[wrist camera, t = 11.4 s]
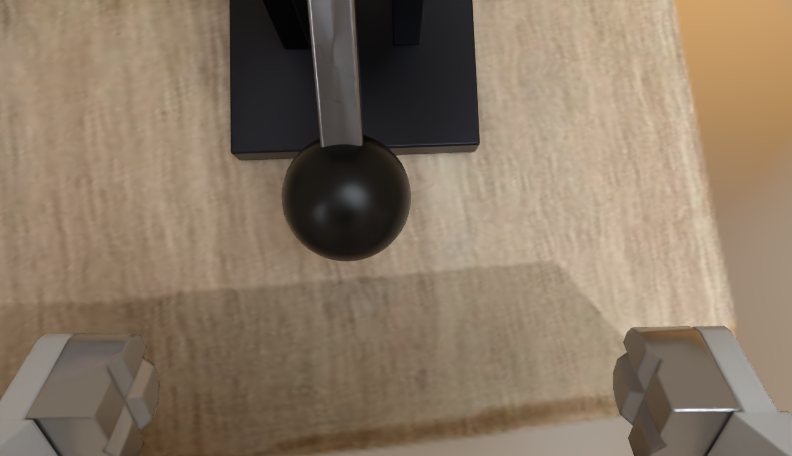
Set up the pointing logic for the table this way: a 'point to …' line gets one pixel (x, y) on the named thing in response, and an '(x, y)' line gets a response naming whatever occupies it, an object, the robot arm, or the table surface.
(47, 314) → the table surface
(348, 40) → the lever
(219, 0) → the table surface
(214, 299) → the table surface
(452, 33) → the switch bracket
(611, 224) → the table surface
